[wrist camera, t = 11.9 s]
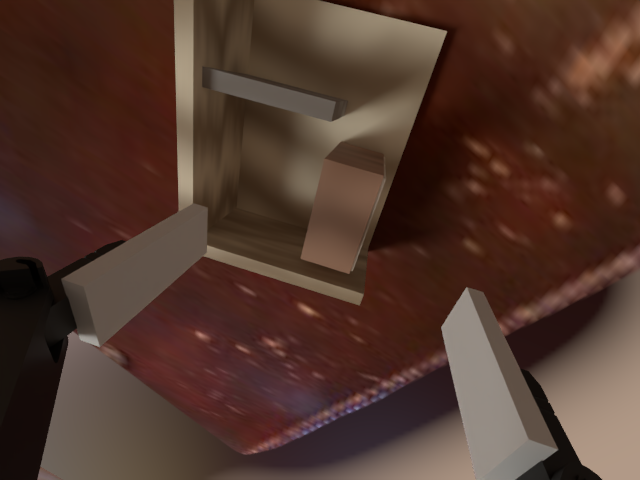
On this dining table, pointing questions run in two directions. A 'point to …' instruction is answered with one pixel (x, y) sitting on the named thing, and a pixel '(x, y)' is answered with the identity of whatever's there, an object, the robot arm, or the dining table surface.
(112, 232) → the dining table surface
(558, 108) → the dining table surface
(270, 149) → the shelf
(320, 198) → the tall mauve wooden block
